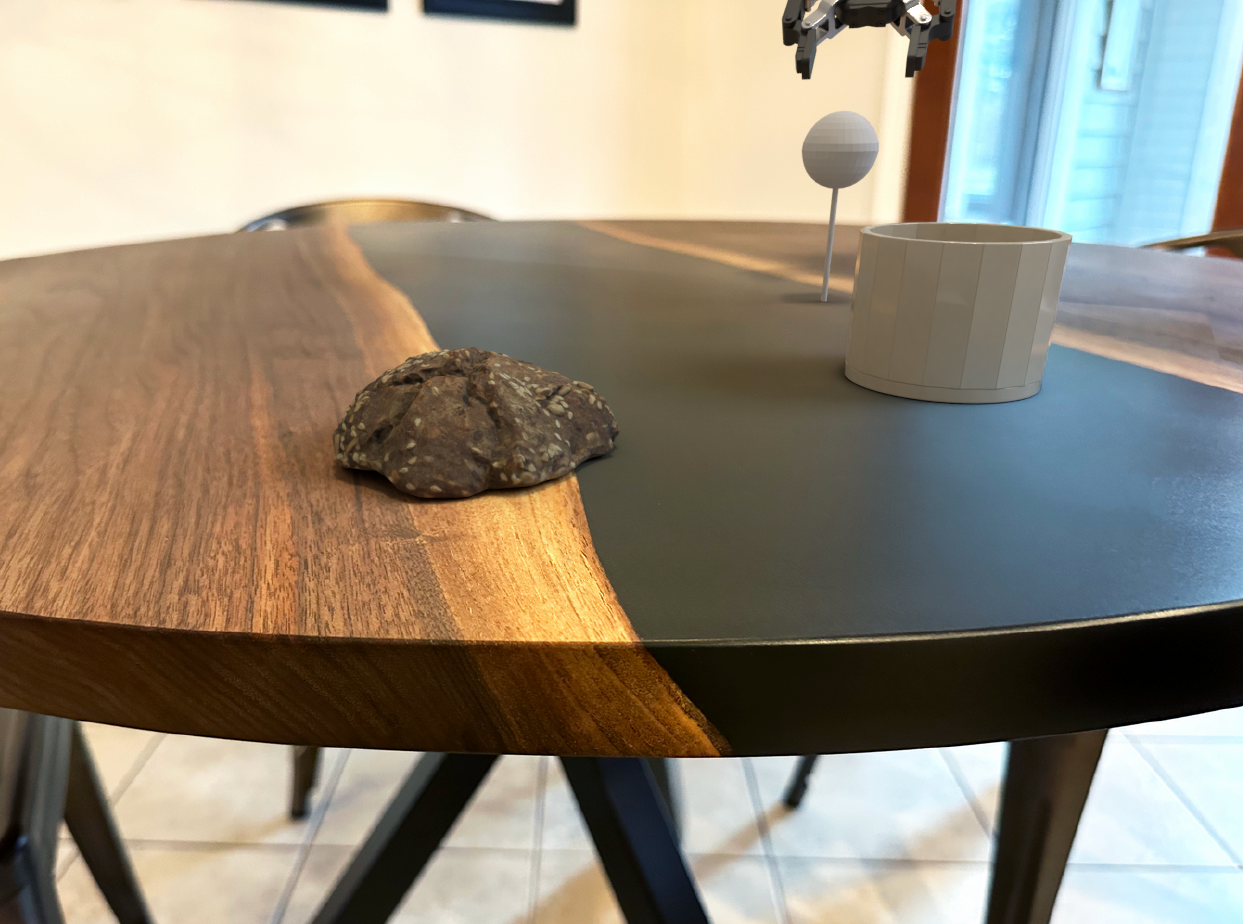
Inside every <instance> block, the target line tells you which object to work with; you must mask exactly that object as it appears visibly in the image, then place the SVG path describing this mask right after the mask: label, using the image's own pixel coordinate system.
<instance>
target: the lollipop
mask: <svg viewBox="0 0 1243 924" xmlns="http://www.w3.org/2000/svg"><path fill="white" fill-rule="evenodd" d="M879 152H880V142H879V138H878V135H877V132H876V130H875V128H874V126H873V125H872V123H871V121H869V120H868V119H867V118H866V117H864V116H863V115H862V114H860V113H857V112H855V111H851V110H839V111H834V112H831V113H828V114H826V115H825V116H823V117H821V118H819V120H817V121H816V122H815V123H814V124H813V126H812V127H811V128H810V129H809V131H808V133H807V134H806V136H805V138H804V140H803V142H802V146H801V158H802V163H803V167H804V169H805V172H806V173H807V175H808V176H809V177H810V179H812V181H813V182H814V183H815V184H818V185H819V186H821V187H823V188H827V189H832V191H831V192H832V193H831V203H830V209H829V210H830V211H829V221H828V229H827V231H828V232H827V239H826V247H825V248H826V249H825V257H824V258H825V259H824V268H823V276H822V278H823V279H822V286H821V287H822V288H821V297H820V302H827V298H828V291H829V290H828V289H829V281H830V280H829V279H830V273H831V272H830V271H831V262H832V252H833V244H834V235H835V227H836V226H835V225H836V216H837V207H838V197H839V189H845V188H850V187H852V186H854V185H855V184H858V183H859V182H860V181H862V180H863V179H864V178H865V177H866V176H867V175H868V174H869V173H870V171H871V169H872V168H873V166H874V165H875V163H876V160H877V157H878V154H879Z"/></svg>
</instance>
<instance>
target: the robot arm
mask: <svg viewBox="0 0 1243 924" xmlns="http://www.w3.org/2000/svg"><path fill="white" fill-rule="evenodd" d="M818 1H819V0H787V1H786V5H785V8H784V12H783V14H782V17H781V29H782V31H781V32H782V43H783V46H785V47H792V46H794V45H795V44H796V51H795V54H794V61H795V62H794V63H795V73H796V74H801V80H804V81H808V80H811V79H812V74H813V69H814V65H815V61H816V60H815V59H816V55H817V52H818V51H817V49H818V46H819V45H820V44H822V43H823V42H824V41H826V39H829V40H832V39H834V38H835V37H836V36H837V35H838V34H840V33H841V32H843V30H845V29H846V28H847V27H848V29H850V30H851V29H860V28H865V27H871V28H886V27H887V25H890V26H891V27H892V28H893V29H894V30H895V31H896V32H897V33H898V34H899V36H901V37H905V36H906V37H907V39H909V43H908V48H907V54H906V60H905V61H906V62H905V70H904V71H905V73H904V78H905V79H908V78H911V79H912V78H915V72H921V71H922V70H923V69H924V68H925V64H926V57H927V51H928V46H929V44H930V42H932V41H934V40H937V39H938V40H939V41H941V42H947V41H949V40H951V39H952V38H953V34H954V22H955V17H956V12H957V0H931V1H932V2H933V3H934V4H933V6H934V7H938V13H935V14H933V15H932V14H931V13H930V12H929V11H928V10H927V9H926V8H925V7H924V6H923V5H922V4H921V1H920V0H821V1H820V2H819V4H818V7H817V9H815V10H814V11H813V12H811V11H812V7H814V6H815V4H816V3H817V2H818ZM810 12H811V13H810ZM806 13H810V14H809V15H808V16H807V17H805V16H806Z"/></svg>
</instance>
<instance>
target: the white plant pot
mask: <svg viewBox="0 0 1243 924" xmlns="http://www.w3.org/2000/svg"><path fill="white" fill-rule="evenodd" d="M1073 237H1074V236H1073V235H1072V234H1070V233H1067V232H1064V231H1062V230H1056V229H1051V228H1046V227H1045V228H1044V227H1036V226H1028V225H1027V226H1026V225H1016V224H1003V223H985V222H961V221H960V222H958V221H915V222H914V221H911V222H908V221H907V222H890V223H880V224H873V225H872V224H871V225H868V226H864V227H862V228H860V229H859V235H858V242H857V243H858V245H857V253H856V261H855V269H854V278H853V285H852V286H853V287H852V293H851V303H850V313H849V319H848V329H847V335H846V337H847V338H846V345H845V353H844V354H845V355H844V358H845V364H844V365H845V366H844V375H845V377H846V378H847V379H848V380H849V381H851V382H852V383H853V384H856V385H858V386H860V387H863V388H864V389H865V388H866V389H868V390H872V391H875V392H878V393H882V394H886V395H889V396H890V395H891V396H896V397H900V398H906V399H912V400H918V401H928V402H936V403H951V404H996V403H997V404H998V403H999V404H1000V403H1008V402H1014V401H1020V400H1024V399H1027V398H1032V397H1033V396H1035V395H1037V394H1038V393H1040V390H1041V389H1042V385H1043V379H1044V375H1045V373H1046V368H1047V363H1048V359H1049V354H1050V349H1051V346H1052V345H1051V344H1052V339H1053V334H1054V329H1055V326H1056V325H1055V324H1056V320H1057V314H1058V311H1059V304H1060V300H1061V297H1062V291H1063V287H1064V281H1065V276H1066V271H1067V266H1068V261H1069V257H1070V251H1071V247H1072V241H1073Z"/></svg>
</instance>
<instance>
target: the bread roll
mask: <svg viewBox="0 0 1243 924" xmlns="http://www.w3.org/2000/svg"><path fill="white" fill-rule="evenodd" d="M620 431H621V430H620V426H619V425H618V422H617V420H616V416H615V415H614V413H613V411H612V409H611V407H610V406H609V405H608V403H607V399H606V398H605V397H604V396H600V394H599V393H598V392H597V391H595V387H594V386H592V385H590V384H589V383H586V382H583V381H579V380H573V379H571V378H569V377H567V376H564V375H562V374H560V373H559V372H557V371H551V370H550V371H549V370H547V369H545V368H543V367H541V366H539V365H535V364H533V362H529V361H526V360H521V359H518V358H515V357H512V356H511V357H510V356H509V355H507V354H506V353H505V354H504V353H502V352H498V353H497V352H495V351H493V350H492V351H487V350H484V349H478V347H476V346H472V347H468V346H465V347H462V348H456V349H448V348H444V349H443V350H441V351H440V350H436V349H434V350H431V351H429V352H423V353H421V354H418V355H413V356H409V357H407V359H405V361H404V362H402V363H401V364H400V365H397V366H396V367H395V368H391V369H390V368H389V369H387V370H386V371H384V372H383V373H382V374H380V375H379V376H378V377H377V378H376V379H375V380H374V381H371V382H370V383H368V384H367V385H366V386H365V387H364V388H363V389H360V390H359V391H358V392H356V394H355V397H354V398H353V399H352V402H351V404H349V405H348V406H346V408H345V412H344V415H343V417H342V418H341V419H340V420H339V422H338V424H337V428H336V429H334V431H333V433H332V444H333V452H334V457H335V459H336V461H337V463H338V466H339V467H341V468H343V469H355V470H361V471H376V472H377V473H379V474H380V475H382V476H384V477H385V478H387V479H388V480H389V481H390V482H391V484H392V485H393V486H394V487H395V488H396V489H397V490H399V491H401V492H403V493H405V494H408V495H412V496H415V497H417V498H430V499H431V498H433V499H435V498H436V499H437V498H439V499H440V498H441V499H442V498H443V499H444V498H445V499H446V498H449V499H450V498H451V499H452V498H467V497H472V496H474V495H477V494H479V493H482V492H483V491H486V490H490V489H491V490H498V489H512V488H514V489H515V488H523V487H525V488H526V487H533V486H535V485H537V484H540V483H543V482H545V481H548V480H549V481H550V480H554V479H558V478H561V477H563V476H565V475H567V474H568V473H570V472H572V471H574V470H575V469H576V468H577V467H579V466H580V465H581V464H582V463H584V462H585V461H587V460H589V459H592V458H597V457H601V456H605V455H608V454H609V453H611V451H613V450H614V449H615V447H616V446H615V444H614V443H615V442H616V440H617V439H618V437H619V434H620Z"/></svg>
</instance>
